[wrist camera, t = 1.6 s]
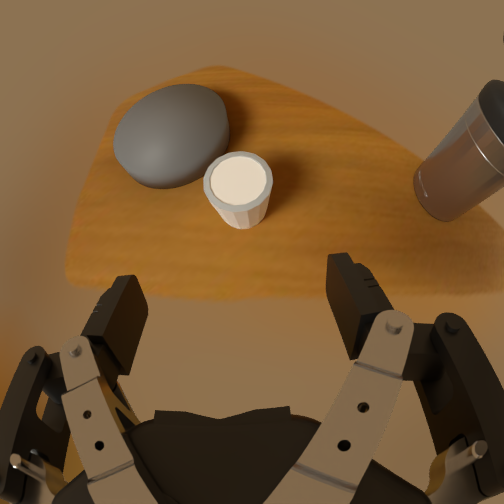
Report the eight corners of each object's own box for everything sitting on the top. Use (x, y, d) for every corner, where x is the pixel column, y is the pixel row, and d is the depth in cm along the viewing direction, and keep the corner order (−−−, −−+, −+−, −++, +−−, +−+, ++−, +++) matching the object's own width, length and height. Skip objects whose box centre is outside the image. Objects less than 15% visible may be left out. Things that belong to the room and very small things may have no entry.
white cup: (222, 241, 32) (211, 220, 25) (209, 190, 34) (196, 161, 27) (279, 224, 32) (282, 200, 25) (262, 175, 34) (261, 143, 27)
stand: (232, 96, 37) (229, 78, 33) (227, 185, 34) (222, 169, 30) (137, 109, 38) (128, 94, 34) (115, 193, 34) (101, 181, 30)
